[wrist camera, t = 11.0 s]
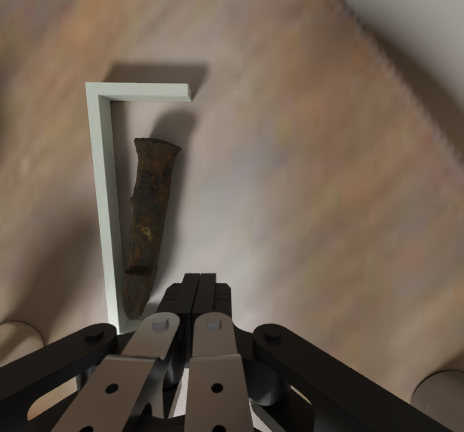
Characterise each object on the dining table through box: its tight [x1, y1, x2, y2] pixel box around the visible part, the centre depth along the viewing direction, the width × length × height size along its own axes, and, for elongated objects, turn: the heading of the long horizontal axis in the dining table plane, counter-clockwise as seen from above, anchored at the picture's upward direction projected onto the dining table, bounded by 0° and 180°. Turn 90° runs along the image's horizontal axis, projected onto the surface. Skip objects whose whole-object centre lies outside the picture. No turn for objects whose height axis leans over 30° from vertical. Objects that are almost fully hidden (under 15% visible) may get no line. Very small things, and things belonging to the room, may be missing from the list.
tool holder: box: [85, 82, 192, 335], centre depth 27 cm, size 9×26×2 cm, turn 0°
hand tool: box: [122, 138, 181, 320], centre depth 27 cm, size 19×4×5 cm, turn 167°
